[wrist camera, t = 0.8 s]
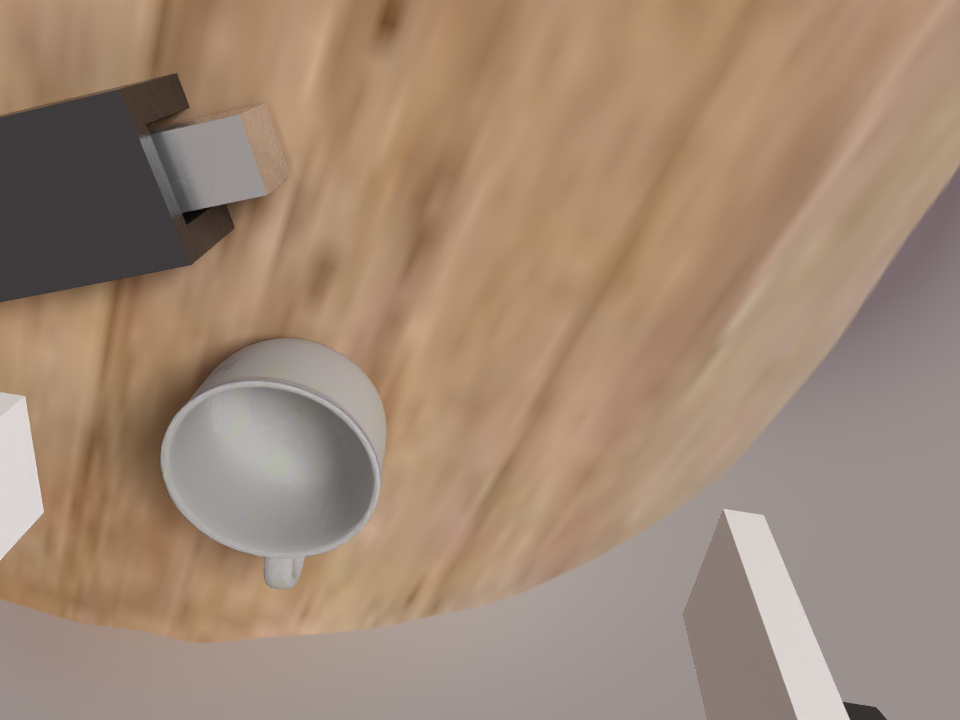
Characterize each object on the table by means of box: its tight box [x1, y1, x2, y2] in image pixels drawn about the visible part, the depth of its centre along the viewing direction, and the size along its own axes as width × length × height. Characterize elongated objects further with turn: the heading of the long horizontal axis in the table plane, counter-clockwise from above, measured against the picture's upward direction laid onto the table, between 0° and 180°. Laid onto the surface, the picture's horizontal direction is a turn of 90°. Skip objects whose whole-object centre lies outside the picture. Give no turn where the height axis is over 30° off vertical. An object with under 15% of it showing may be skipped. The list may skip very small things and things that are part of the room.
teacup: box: [161, 338, 386, 589], centre depth 41 cm, size 14×11×8 cm
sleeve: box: [0, 73, 234, 302], centre depth 36 cm, size 8×12×6 cm, turn 102°
